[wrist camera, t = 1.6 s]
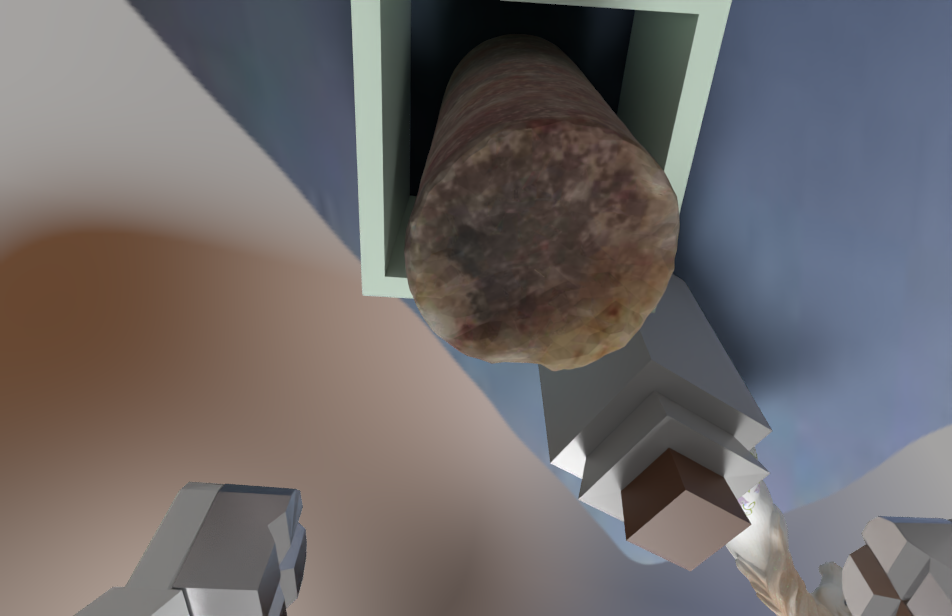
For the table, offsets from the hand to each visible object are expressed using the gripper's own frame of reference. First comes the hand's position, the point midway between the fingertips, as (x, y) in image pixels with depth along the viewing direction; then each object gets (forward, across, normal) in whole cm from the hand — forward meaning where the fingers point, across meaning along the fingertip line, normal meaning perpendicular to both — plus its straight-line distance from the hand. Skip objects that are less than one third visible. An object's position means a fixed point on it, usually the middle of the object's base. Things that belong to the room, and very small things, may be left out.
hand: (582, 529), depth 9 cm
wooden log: (+28, 0, 0) cm, 28 cm away
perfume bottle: (+28, -7, +11) cm, 31 cm away
